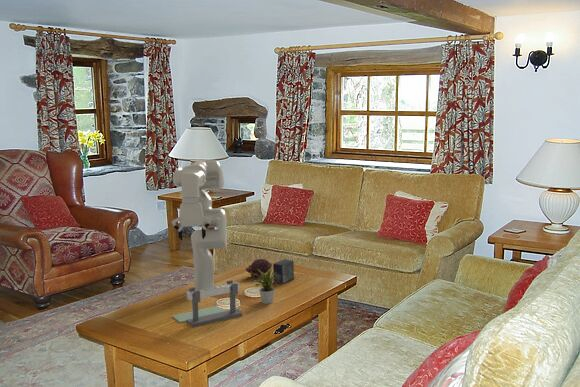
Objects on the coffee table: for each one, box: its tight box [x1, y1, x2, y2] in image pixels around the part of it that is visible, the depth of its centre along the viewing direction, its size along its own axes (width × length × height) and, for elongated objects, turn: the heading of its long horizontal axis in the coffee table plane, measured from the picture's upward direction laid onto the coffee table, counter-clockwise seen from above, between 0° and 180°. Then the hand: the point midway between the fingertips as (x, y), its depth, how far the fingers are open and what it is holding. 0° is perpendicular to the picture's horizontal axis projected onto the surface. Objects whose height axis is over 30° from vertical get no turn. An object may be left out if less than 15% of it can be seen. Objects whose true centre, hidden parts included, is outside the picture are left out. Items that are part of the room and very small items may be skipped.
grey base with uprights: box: [186, 279, 243, 328], centre depth 266 cm, size 6×24×16 cm, turn 122°
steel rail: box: [186, 281, 241, 302], centre depth 265 cm, size 3×24×3 cm, turn 122°
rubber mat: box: [171, 305, 240, 324], centre depth 275 cm, size 9×29×1 cm, turn 122°
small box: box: [272, 258, 295, 285], centre depth 319 cm, size 11×6×10 cm, turn 144°
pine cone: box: [245, 258, 273, 279], centre depth 327 cm, size 18×10×10 cm, turn 133°
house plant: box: [251, 267, 279, 305], centre depth 288 cm, size 14×14×16 cm
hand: (192, 239), depth 265 cm, fingers open, 9 cm apart
